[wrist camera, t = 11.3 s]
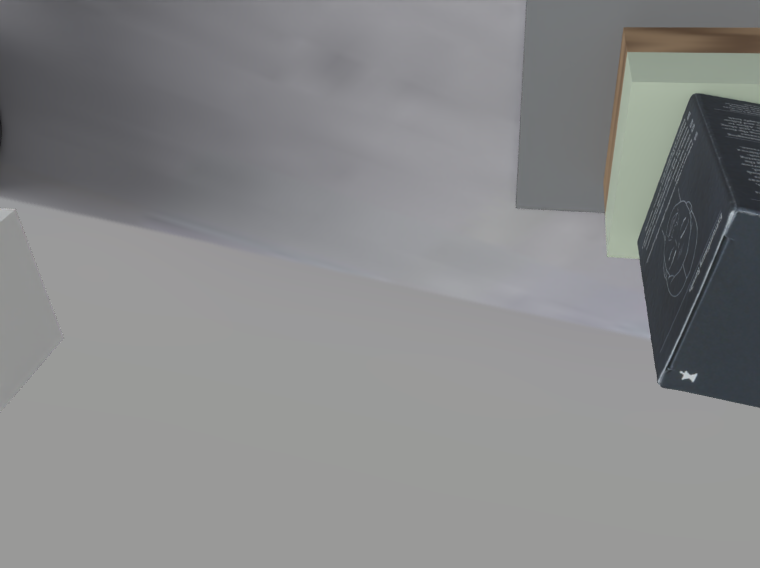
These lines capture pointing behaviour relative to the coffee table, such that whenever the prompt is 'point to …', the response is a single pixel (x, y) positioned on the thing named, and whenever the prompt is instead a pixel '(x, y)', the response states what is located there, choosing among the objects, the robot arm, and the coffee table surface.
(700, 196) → the box
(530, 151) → the felt mat
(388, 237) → the coffee table surface
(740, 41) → the tower bottom
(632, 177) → the tower top
